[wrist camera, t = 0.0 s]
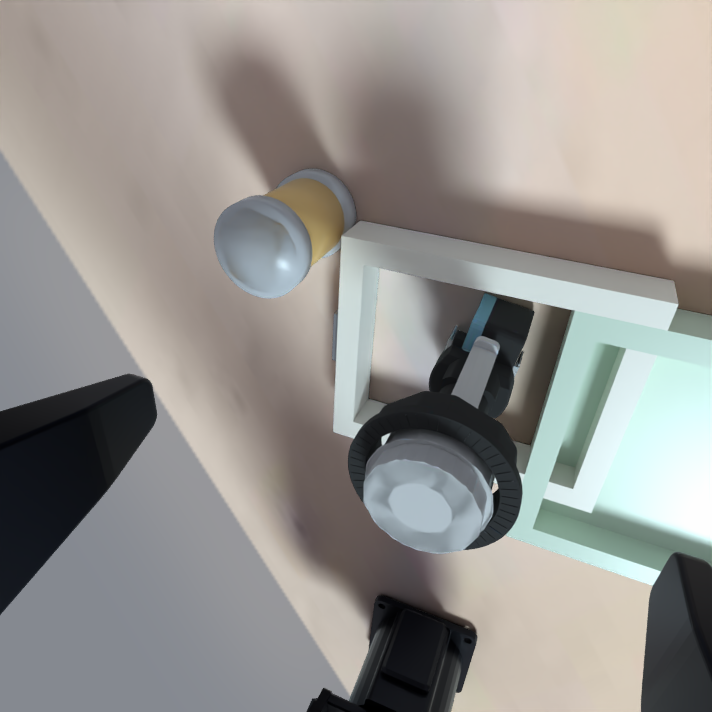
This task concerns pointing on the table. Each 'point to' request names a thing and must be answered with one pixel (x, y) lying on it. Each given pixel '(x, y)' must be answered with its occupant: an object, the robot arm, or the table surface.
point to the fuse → (283, 232)
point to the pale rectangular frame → (510, 278)
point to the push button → (449, 443)
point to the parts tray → (628, 449)
